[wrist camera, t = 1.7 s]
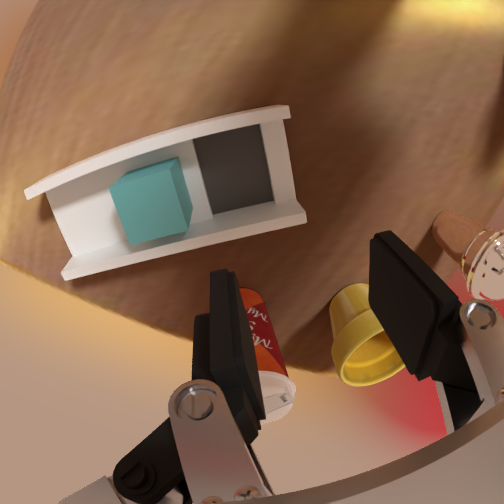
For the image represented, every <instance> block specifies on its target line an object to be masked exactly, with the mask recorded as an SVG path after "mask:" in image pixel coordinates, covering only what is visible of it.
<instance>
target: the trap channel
mask: <svg viewBox="0 0 504 504" xmlns="http://www.w3.org/2000/svg"><path fill="white" fill-rule="evenodd" d="M288 118H291V115H290V110H289V106H288V105H272V106H266V107H261V108H255V109H250V110H245V111H240V112H236V113H231V114H226V115H222V116H218V117H214V118H209V119H205V120H201V121H198V122H194V123H190V124H186V125H183V126H179V127H176V128H172V129H169V130H166V131H162V132H159V133H156V134H153V135H149V136H146V137H143V138H140V139H137V140H134V141H132V142H129V143H126V144H123V145H120V146H118V147H115V148H112V149H109V150H107V151H104V152H102V153H99V154H97V155H94V156H92V157H89V158H87V159H84V160H82V161H80V162H77V163H75V164H73V165H70V166H68V167H66V168H64V169H61V170H59V171H57V172H55V173H53V174H51V175H49V176H46V177H45V178H43V179H41V180H40V181H38V182H36V183H35V184H33V185H32V186H30V187H28V188H27V189H25V190H24V193H25V195H26V198H27V200H29V199H31V198H33V197H35V196H37V195H39V194H41V193H43V192H45V193H46V196H47V199H48V201H49V204H50V206H51V209H52V211H53V214H54V216H55V219H56V221H57V223H58V226H59V228H60V230H61V232H62V235H63V237H64V239H65V241H66V243H67V246H68V248H69V250H70V252H71V254H72V258H71V259H70V260H69V262H68V263H67V265H66V266H65V267H64V269H63V270H62V272H61V274H62V276H63V278H64V280H65V281H67V280H71V279H75V278H79V277H82V276H86V275H90V274H94V273H98V272H102V271H106V270H110V269H114V268H118V267H122V266H126V265H130V264H134V263H138V262H142V261H146V260H150V259H154V258H158V257H163V256H167V255H171V254H175V253H179V252H183V251H187V250H192V249H196V248H200V247H204V246H208V245H213V244H217V243H221V242H225V241H230V240H234V239H238V238H243V237H247V236H251V235H256V234H260V233H264V232H269V231H273V230H278V229H282V228H286V227H291V226H295V225H300V224H304V223H307V218H306V212H305V211H304V209H303V208H302V206H301V205H300V204H299V202H298V201H297V200H296V194H295V188H294V181H293V175H292V169H291V163H290V157H289V151H288V145H287V140H286V134H285V129H284V123H283V119H288ZM177 156H178V157H179V160H180V164H181V168H182V171H183V175H184V178H185V182H186V185H187V189H188V192H189V195H190V199H191V202H192V206H193V211H192V215H191V220H190V225H189V230H188V231H184V232H180V233H176V234H172V235H168V236H165V237H161V238H157V239H153V240H149V241H145V242H142V243H138V244H134V245H130V243H129V240H128V238H127V235H126V233H125V231H124V228H123V225H122V223H121V220H120V218H119V215H118V213H117V210H116V207H115V205H114V202H113V199H112V196H111V194H110V191H109V188H110V187H111V186H112V185H113V184H114V183H115V182H116V181H117V180H118V179H120V178H121V177H122V176H123V175H124V174H125V173H126V172H129V171H132V170H135V169H138V168H141V167H144V166H147V165H150V164H154V163H157V162H160V161H164V160H167V159H170V158H174V157H177Z"/></svg>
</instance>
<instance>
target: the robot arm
mask: <svg viewBox="0 0 504 504" xmlns="http://www.w3.org/2000/svg"><path fill="white" fill-rule="evenodd" d="M368 301H369V305H370V308H371V310H372V311H373V313H374V314H375V316H376V318H377V319H378V321H379V322H380V324H381V326H382V327H383V329H384V331H385V332H386V334H387V336H388V337H389V339H390V341H391V342H392V344H393V346H394V347H395V349H396V351H397V352H398V354H399V356H400V358H401V359H402V361H403V363H404V364H405V366H406V368H407V370H408V371H409V373H410V374H411V375H413V374H415V376H416V377H417V379H418V381H420V380H423V379H425V378H427V377H429V376H431V378H432V380H435V385H436V388H437V392H438V396H439V400H440V404H441V408H442V412H443V416H444V421H445V425H446V430H447V436H446V437H444V438H442V439H440V440H438V441H436V442H434V443H432V444H430V445H429V446H427V447H424V448H422V449H420V450H418V451H416V452H414V453H412V454H410V455H407V456H405V457H403V458H401V459H398V460H395V461H393V462H391V463H388V464H386V465H383V466H380V467H378V468H375V469H372V470H370V471H367V472H364V473H361V474H358V475H355V476H352V477H349V478H346V479H343V480H339V481H336V482H332V483H329V484H325V485H321V486H317V487H313V488H309V489H305V490H300V491H296V492H291V493H286V494H280V495H275V493H274V491H273V489H272V487H271V485H270V483H269V481H268V479H267V477H266V474H265V472H264V470H263V468H262V466H261V465H260V462H259V460H258V458H257V455H256V453H255V451H254V449H253V447H252V445H251V443H252V442H253V441H254V440H255V438H256V437H257V436H258V430H261V424H260V420H265V419H266V414H265V408H264V402H263V396H262V390H261V384H260V378H259V372H258V366H257V360H256V353H255V347H254V341H253V335H252V331H251V327H250V324H249V321H248V317H247V314H246V310H245V307H244V303H243V300H242V296H241V293H240V289H239V286H238V282H237V279H236V275H235V272H228V270H227V269H222V270H218V271H214V272H210V313H206V314H201V315H196V316H195V321H194V338H193V358H192V381H188V382H186V383H184V384H182V385H181V386H179V387H178V388H177V389H176V390H175V391H174V392H173V394H172V395H171V397H170V400H169V403H168V412H169V416H170V417H169V418H168V419H166V420H165V421H164V422H163V423H162V424H161V425H160V426H159V427H158V428H157V429H156V430H154V431H153V432H152V433H151V434H150V435H149V436H148V437H146V438H145V439H144V440H143V441H142V442H141V443H140V444H139V445H137V446H136V447H135V448H134V449H133V450H132V451H130V452H129V453H128V454H127V455H126V456H125V457H123V458H122V459H121V460H120V461H119V463H118V464H117V465H116V467H115V469H114V472H113V475H112V476H110V477H107V476H103V477H102V478H100V479H98V480H97V481H95V482H93V483H92V484H90V485H88V486H86V487H84V488H83V489H81V490H79V491H77V492H75V493H73V494H72V495H70V496H68V497H66V498H65V499H63V500H61V501H60V502H59V504H192V503H193V504H504V320H503V318H502V317H501V315H500V313H499V312H498V310H497V309H496V308H495V306H493V305H492V304H490V303H489V302H487V301H484V300H480V299H471V300H469V301H466V302H465V303H464V304H462V303H461V302H460V301H459V300H458V296H457V295H456V294H455V293H454V292H453V291H452V290H451V289H450V288H449V287H448V286H447V285H446V284H445V283H444V282H443V280H442V279H441V278H440V277H439V276H438V275H437V274H436V273H435V272H434V271H433V270H432V269H431V268H430V267H429V266H428V265H427V264H426V263H425V262H424V261H423V260H422V259H421V258H420V257H419V256H418V255H417V254H415V253H414V252H413V251H412V250H411V249H410V248H409V247H408V246H407V245H406V244H405V243H404V242H403V241H402V240H401V239H400V238H398V237H397V236H396V235H395V234H394V233H393V232H392V231H390V230H388V231H384V232H380V233H376V234H375V235H374V238H373V239H371V240H370V266H369V293H368Z"/></svg>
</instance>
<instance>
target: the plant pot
mask: <svg viewBox="0 0 504 504" xmlns="http://www.w3.org/2000/svg"><path fill="white" fill-rule="evenodd" d="M368 293H369V285H368V284H365V283H356V284H352V285H349V286H347V287H345V288H343V289H342V290H341V291H339V292H338V293H337V294H336V295H335V297H334V298H333V299H332V301H331V304H330V307H329V314H330V319H331V326H332V332H333V339H334V342H333V345H332V349H331V355H332V359H333V362H334V365H335V368H336V370H337V373H338V375H339V377H340V379H341V380H342V381H343V382H344V383H346V384H348V385H351V386H367V385H371V384H375V383H378V382H380V381H383V380H385V379H387V378H389V377H391V376H392V375H394V374H396V373H397V372H398V371H400V370H401V369H402V368H404V367H405V364H404V363H403V361H402V359H401V358H400V356H399V354H398V352H397V351H396V349H395V347H394V346H393V344H392V342H391V341H390V339H389V337H388V336H387V334H386V332H385V331H384V329H383V327H382V326H381V324H380V322H379V321H378V319H377V318H376V316H375V314H374V313H373V311H372V310H371V308H370V305H369V301H368Z"/></svg>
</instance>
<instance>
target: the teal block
mask: <svg viewBox="0 0 504 504" xmlns="http://www.w3.org/2000/svg"><path fill="white" fill-rule="evenodd" d="M109 191H110V194H111V196H112V199H113V202H114V205H115V207H116V210H117V213H118V215H119V218H120V220H121V223H122V225H123V228H124V231H125V233H126V235H127V238H128V240H129V243H130V245H134V244H138V243H142V242H145V241H149V240H153V239H157V238H161V237H165V236H168V235H172V234H176V233H180V232H184V231H188V230H189V225H190V220H191V215H192V211H193V206H192V202H191V199H190V195H189V192H188V189H187V185H186V182H185V178H184V175H183V171H182V168H181V164H180V160H179V157H178V156H177V157H174V158H170V159H167V160H164V161H160V162H157V163H154V164H150V165H147V166H144V167H141V168H138V169H135V170H132V171H129V172H126V173H125V174H124V175H123V176H122V177H121V178H120V179H118V180H117V181H116V182H115V183H114V184H113V185H112V186H111V187H110V188H109Z"/></svg>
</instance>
